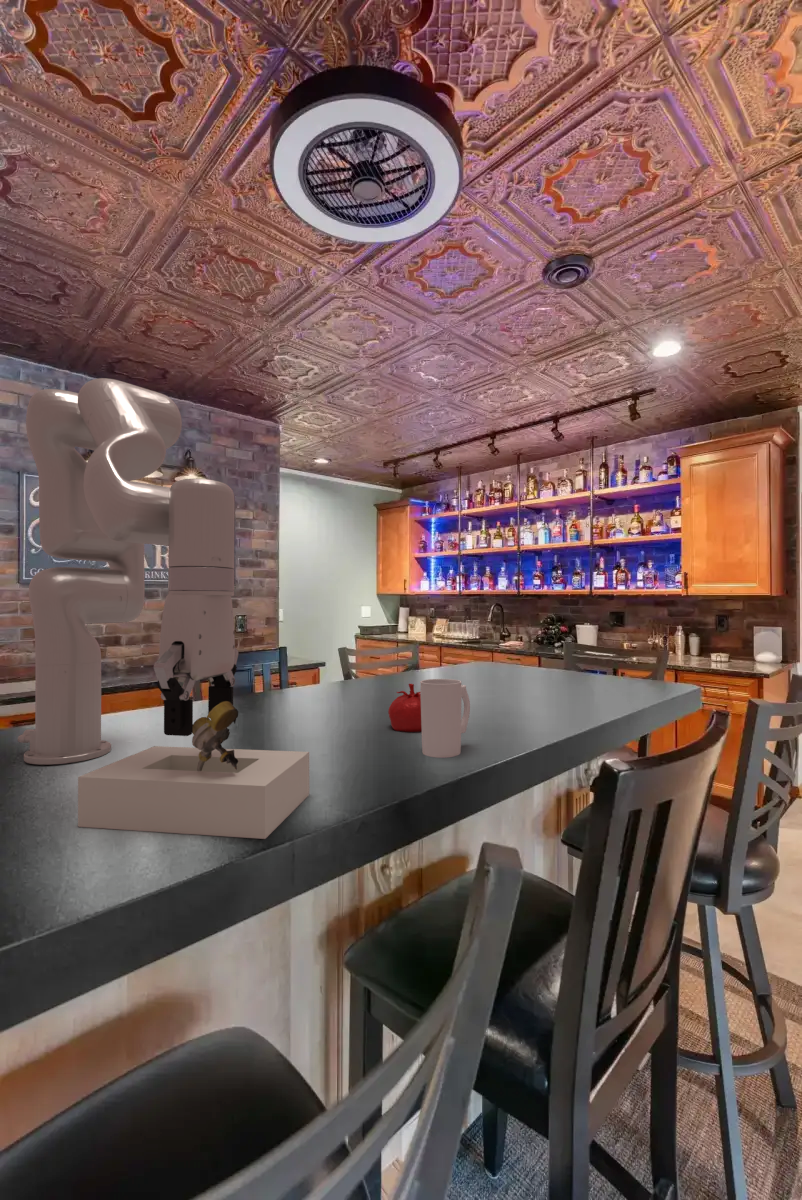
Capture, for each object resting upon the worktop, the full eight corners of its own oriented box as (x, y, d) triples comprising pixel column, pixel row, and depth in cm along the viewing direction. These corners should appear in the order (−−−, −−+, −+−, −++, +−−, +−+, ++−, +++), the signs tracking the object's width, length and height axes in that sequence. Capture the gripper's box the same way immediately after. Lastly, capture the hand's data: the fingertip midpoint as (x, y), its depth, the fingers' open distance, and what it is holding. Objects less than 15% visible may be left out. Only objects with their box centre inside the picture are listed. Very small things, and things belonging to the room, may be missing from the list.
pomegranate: (433, 738, 103) (433, 687, 103) (382, 735, 106) (381, 686, 106) (444, 727, 112) (443, 681, 113) (396, 724, 115) (396, 679, 115)
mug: (440, 762, 86) (439, 685, 86) (412, 754, 92) (411, 681, 92) (484, 751, 93) (483, 679, 93) (455, 744, 98) (455, 676, 98)
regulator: (169, 794, 67) (190, 693, 61) (196, 780, 70) (220, 683, 64) (208, 834, 64) (234, 732, 58) (235, 818, 67) (263, 719, 61)
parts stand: (78, 826, 62) (78, 777, 62) (154, 786, 76) (154, 746, 76) (265, 838, 58) (265, 786, 58) (309, 794, 72) (309, 751, 72)
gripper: (209, 586, 76) (208, 711, 76) (127, 581, 59) (126, 741, 59) (260, 586, 75) (260, 713, 75) (192, 580, 58) (191, 744, 58)
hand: (201, 725), depth 67 cm, fingers open, 9 cm apart
